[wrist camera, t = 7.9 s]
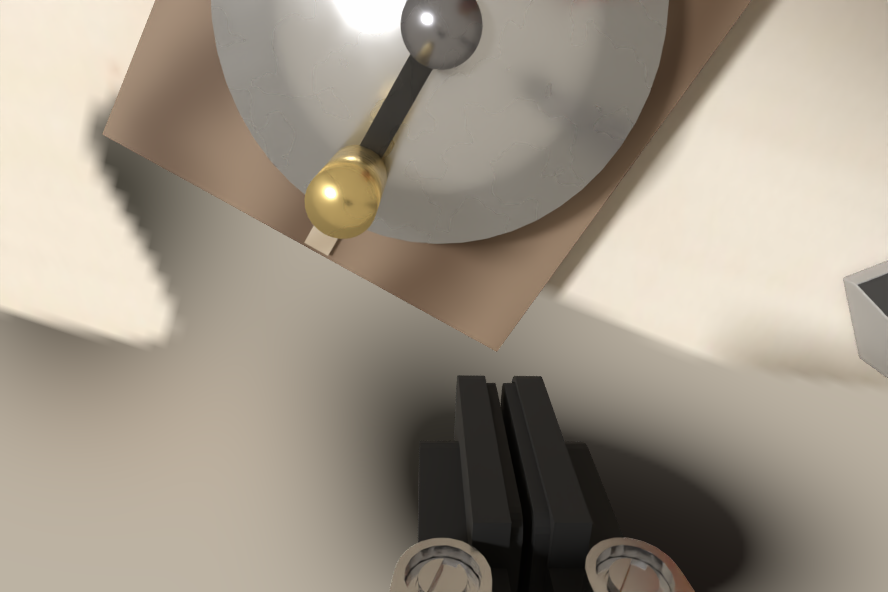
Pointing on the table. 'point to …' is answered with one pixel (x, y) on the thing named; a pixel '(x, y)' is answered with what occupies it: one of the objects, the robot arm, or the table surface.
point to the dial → (438, 104)
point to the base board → (369, 254)
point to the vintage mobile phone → (870, 314)
